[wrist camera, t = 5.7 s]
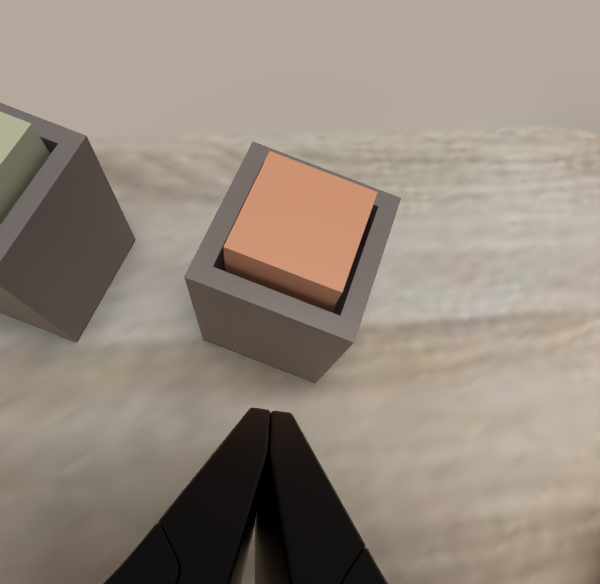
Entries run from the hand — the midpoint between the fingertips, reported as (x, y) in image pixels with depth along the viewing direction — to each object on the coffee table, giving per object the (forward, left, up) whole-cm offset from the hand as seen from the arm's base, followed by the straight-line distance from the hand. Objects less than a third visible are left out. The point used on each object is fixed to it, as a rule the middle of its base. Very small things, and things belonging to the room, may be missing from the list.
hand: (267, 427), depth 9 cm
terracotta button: (+1, -7, -6) cm, 9 cm away
